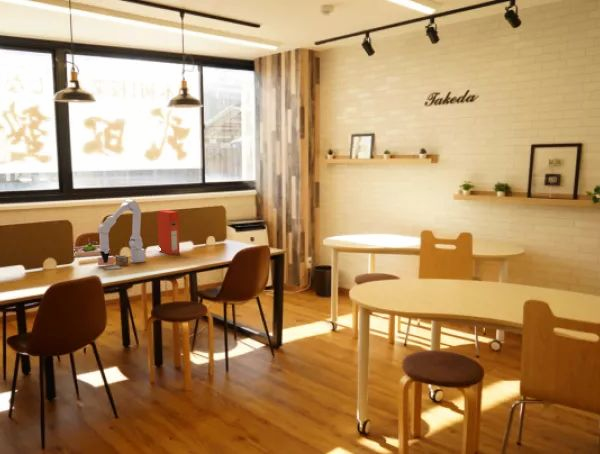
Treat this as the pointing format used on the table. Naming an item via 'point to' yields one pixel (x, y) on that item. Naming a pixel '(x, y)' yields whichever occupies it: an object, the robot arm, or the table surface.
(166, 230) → the file binder
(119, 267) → the pad
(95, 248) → the plant
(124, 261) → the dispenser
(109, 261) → the pink eraser brick
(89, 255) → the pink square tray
